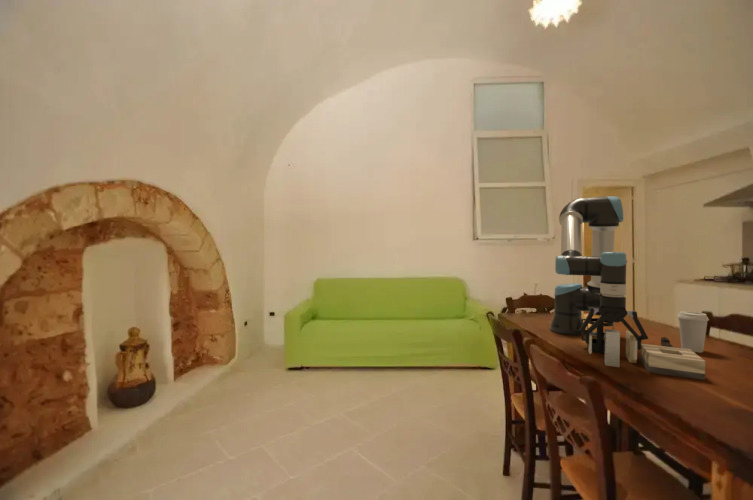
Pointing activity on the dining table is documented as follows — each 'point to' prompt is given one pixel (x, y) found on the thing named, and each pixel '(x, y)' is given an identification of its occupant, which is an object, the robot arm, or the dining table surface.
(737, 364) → the dining table surface
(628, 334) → the beige rectangular slab
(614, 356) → the square bit
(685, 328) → the coffee cup
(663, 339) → the hand tool
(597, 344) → the french press
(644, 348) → the bore block
